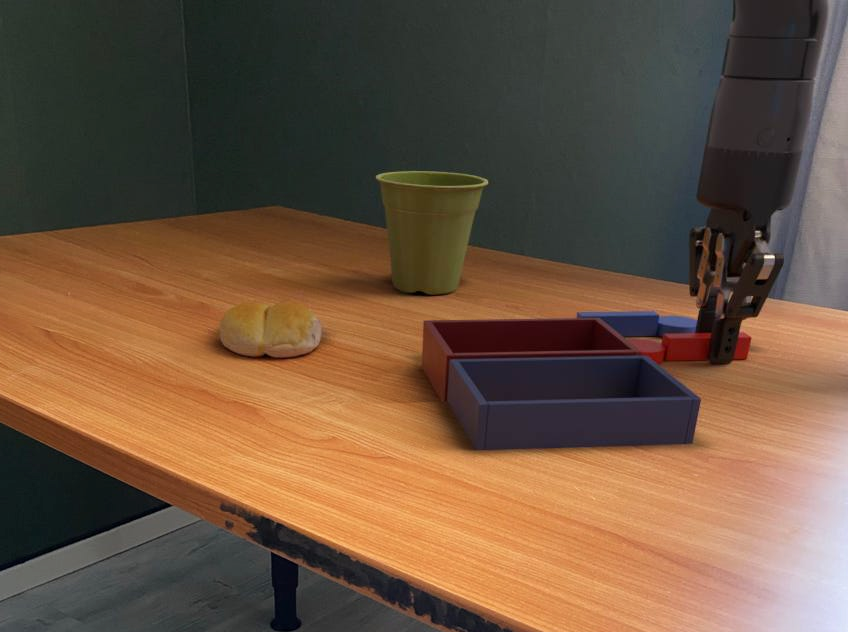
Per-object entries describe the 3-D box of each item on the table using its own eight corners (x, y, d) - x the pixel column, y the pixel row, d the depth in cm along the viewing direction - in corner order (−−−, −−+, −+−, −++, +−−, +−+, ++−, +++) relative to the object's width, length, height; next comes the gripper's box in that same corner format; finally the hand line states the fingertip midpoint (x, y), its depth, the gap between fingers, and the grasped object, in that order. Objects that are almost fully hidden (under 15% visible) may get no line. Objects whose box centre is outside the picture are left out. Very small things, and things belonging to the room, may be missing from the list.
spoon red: (733, 350, 91) (737, 328, 90) (753, 363, 87) (758, 340, 86) (608, 352, 90) (611, 330, 89) (623, 366, 86) (627, 343, 85)
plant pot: (446, 307, 103) (453, 189, 97) (352, 290, 109) (353, 178, 103) (499, 286, 111) (508, 176, 106) (409, 272, 117) (413, 167, 111)
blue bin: (638, 406, 77) (647, 355, 75) (690, 455, 68) (701, 398, 66) (446, 411, 75) (449, 359, 73) (475, 462, 67) (479, 404, 65)
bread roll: (234, 332, 93) (232, 288, 91) (327, 338, 92) (327, 293, 90) (206, 356, 87) (203, 309, 84) (306, 363, 85) (306, 316, 83)
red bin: (593, 364, 86) (599, 317, 84) (634, 402, 78) (642, 351, 76) (421, 367, 85) (423, 320, 83) (443, 407, 76) (446, 355, 74)
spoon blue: (583, 341, 93) (586, 319, 92) (570, 329, 96) (572, 308, 95) (704, 339, 94) (709, 317, 93) (687, 327, 98) (691, 306, 96)
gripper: (844, 152, 74) (788, 380, 83) (759, 134, 86) (718, 335, 95) (749, 152, 73) (703, 382, 83) (676, 133, 85) (643, 337, 94)
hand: (711, 356), depth 89 cm, fingers closed
